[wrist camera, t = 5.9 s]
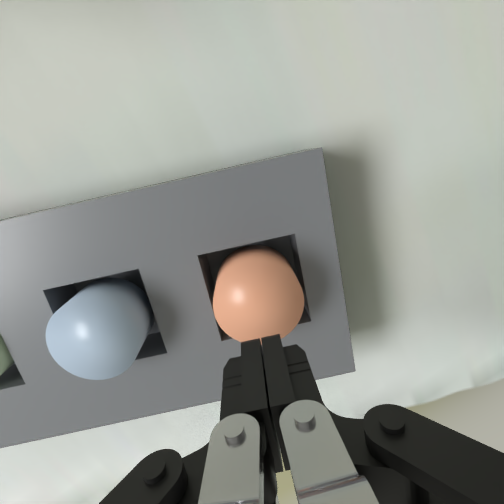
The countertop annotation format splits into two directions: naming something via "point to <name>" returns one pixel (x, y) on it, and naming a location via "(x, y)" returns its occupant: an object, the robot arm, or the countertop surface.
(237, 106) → the countertop surface
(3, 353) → the sage button
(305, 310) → the button panel
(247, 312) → the terracotta button
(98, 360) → the slate button
